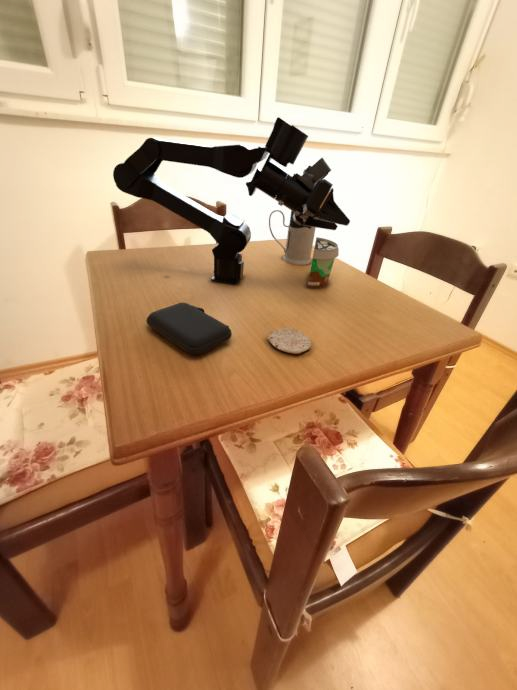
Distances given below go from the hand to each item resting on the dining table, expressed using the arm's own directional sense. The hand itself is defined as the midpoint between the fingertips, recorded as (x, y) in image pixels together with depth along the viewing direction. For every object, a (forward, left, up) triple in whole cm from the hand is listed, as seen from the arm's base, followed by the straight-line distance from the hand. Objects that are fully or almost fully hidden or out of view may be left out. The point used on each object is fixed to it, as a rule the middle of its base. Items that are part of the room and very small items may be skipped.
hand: (342, 226), depth 68 cm
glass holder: (-13, +21, -16) cm, 29 cm away
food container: (-2, +6, -16) cm, 17 cm away
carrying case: (-23, -29, -16) cm, 41 cm away
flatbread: (-5, -26, -16) cm, 31 cm away
